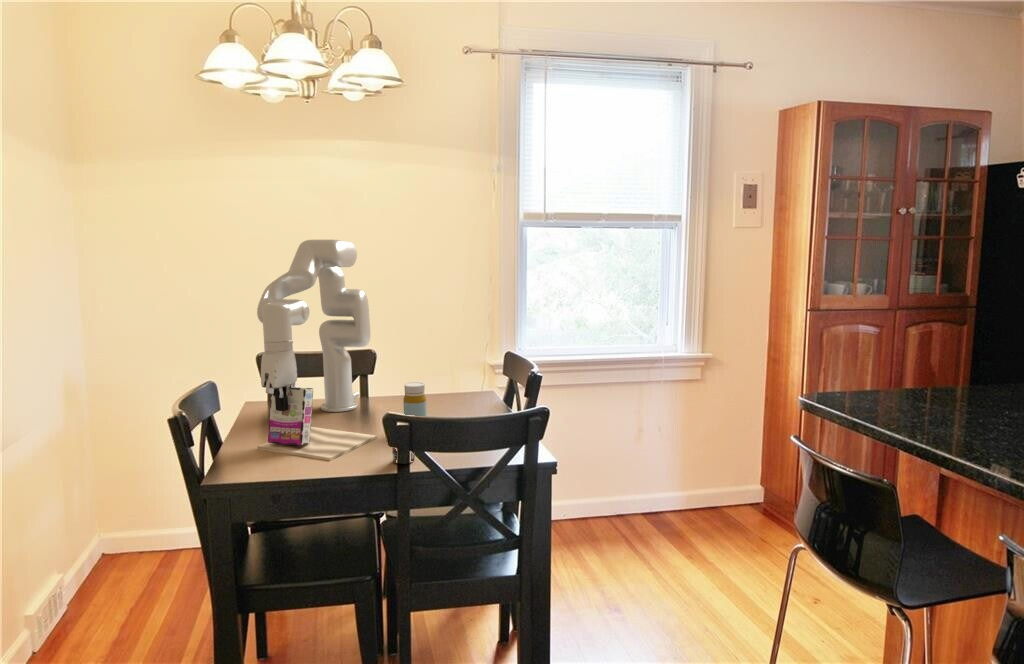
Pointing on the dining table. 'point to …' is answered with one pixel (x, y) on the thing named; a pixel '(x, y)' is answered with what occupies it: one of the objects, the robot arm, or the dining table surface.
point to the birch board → (322, 444)
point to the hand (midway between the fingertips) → (282, 410)
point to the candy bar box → (292, 418)
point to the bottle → (415, 399)
